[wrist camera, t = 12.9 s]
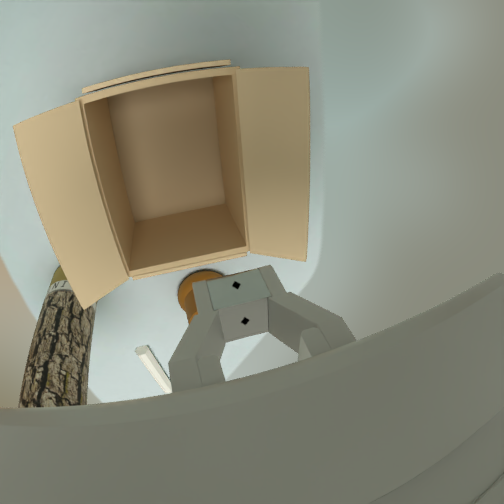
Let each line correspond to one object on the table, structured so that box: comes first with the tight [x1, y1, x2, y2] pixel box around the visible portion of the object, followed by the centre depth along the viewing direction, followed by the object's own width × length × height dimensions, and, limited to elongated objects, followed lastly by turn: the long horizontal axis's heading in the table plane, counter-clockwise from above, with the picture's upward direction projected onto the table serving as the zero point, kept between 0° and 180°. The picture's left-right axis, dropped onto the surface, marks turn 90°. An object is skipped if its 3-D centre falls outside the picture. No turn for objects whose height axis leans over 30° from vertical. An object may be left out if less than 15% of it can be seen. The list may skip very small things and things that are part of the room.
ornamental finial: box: [178, 271, 222, 324], centre depth 38 cm, size 8×8×8 cm
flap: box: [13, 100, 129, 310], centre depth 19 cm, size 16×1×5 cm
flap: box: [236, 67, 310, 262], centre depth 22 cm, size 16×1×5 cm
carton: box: [75, 60, 250, 280], centre depth 26 cm, size 17×12×10 cm
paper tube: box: [18, 266, 97, 408], centre depth 25 cm, size 7×7×25 cm
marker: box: [135, 345, 172, 393], centre depth 48 cm, size 3×2×16 cm
